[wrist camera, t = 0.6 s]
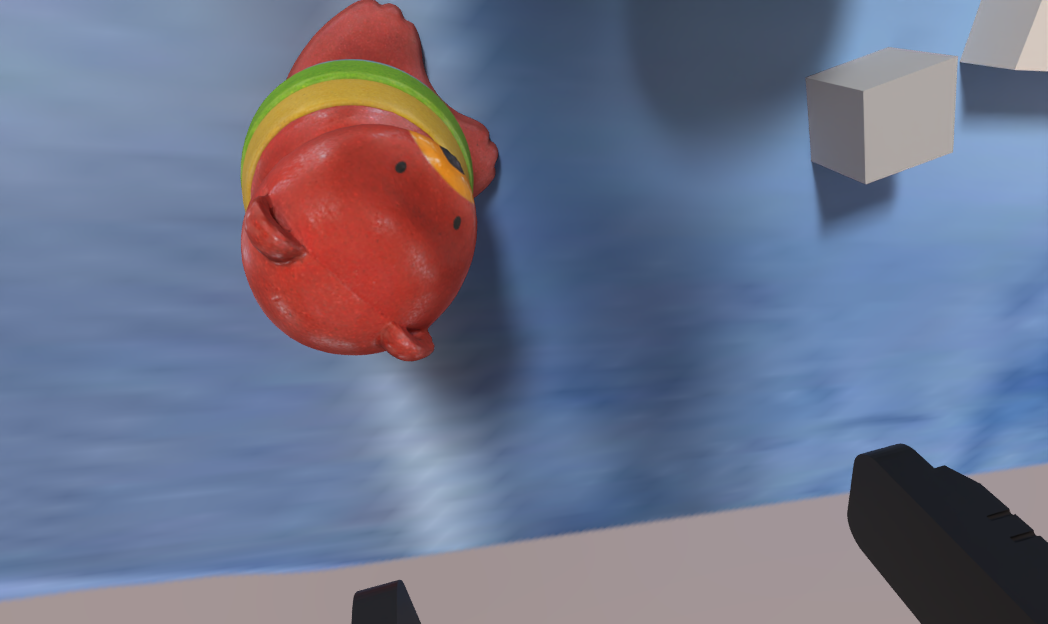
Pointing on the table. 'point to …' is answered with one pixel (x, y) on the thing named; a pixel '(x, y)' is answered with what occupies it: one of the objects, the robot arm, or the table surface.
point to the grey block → (882, 112)
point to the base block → (1009, 35)
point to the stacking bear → (361, 191)
